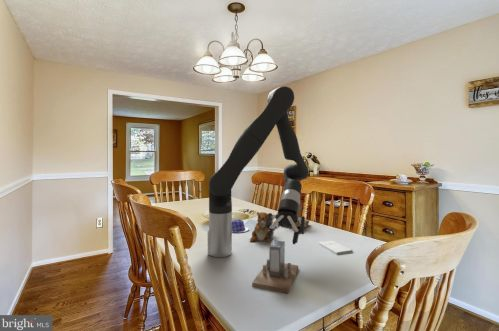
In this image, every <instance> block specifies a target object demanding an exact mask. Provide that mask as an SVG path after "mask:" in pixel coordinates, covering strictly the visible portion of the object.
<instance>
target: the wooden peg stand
mask: <svg viewBox="0 0 499 331" xmlns="http://www.w3.org/2000/svg"><path fill="white" fill-rule="evenodd" d="M298 270H299V265H297V264H292V263H291V262H287V263H285V262H284V272H283V274H282V276H281V278H275V277H270V276H269V259H266V263H265V264H262V269H261V270H260V272H259V273H258V274H257V276H256V277H255V278H254V279H253V281H252V287H254V288H260V289H263V288H264V289H265V290H268V289H269V291H272V292H273V291H274V292H278V293H282V294H283V293H284V294H288V293H289V291H290V289H291V287H292V285H293V282H294V279H295V277H296V276H297V272H298Z"/></svg>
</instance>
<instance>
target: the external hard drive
mask: <svg viewBox="0 0 499 331" xmlns="http://www.w3.org/2000/svg"><path fill="white" fill-rule="evenodd" d="M318 246H320V247H322V248H324V249H326V250H328V251H329V252H331V253H333V254H335V255H336V256H337V255H344V254H351V252H352V253H353V252H354V251H353V249H351V248H349V247H347V246H345V245H343V244H341V243H339V242H337V241H335V240H326V241H319V242H318Z"/></svg>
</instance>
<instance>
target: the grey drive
mask: <svg viewBox="0 0 499 331" xmlns="http://www.w3.org/2000/svg"><path fill="white" fill-rule="evenodd" d="M285 242H286V241H284V240H279V239H278V240H276V239H274V240H272V241H271V243H270V245H269V252H268V253H269V254H268V255H269V256H268V257H269V276H270V277H275V278H281V276H282V274H283V272H284V263H285V262H286V261H285V258H286V257H285V256H286V255H285V254H286V253H285V252H286V251H285V249H286V248H285V246H286V243H285Z"/></svg>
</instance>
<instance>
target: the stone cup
mask: <svg viewBox="0 0 499 331" xmlns="http://www.w3.org/2000/svg"><path fill="white" fill-rule="evenodd" d="M302 211H303V204H302V202H301V201H300V205H299V210H298V215H297V217H300V218H301V217H302ZM309 224H310V220H308V219H305V228H307V227H308V225H309ZM295 225H296V227H297V228H301V224H300V222H299V221H297V222H296V223H295Z"/></svg>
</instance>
